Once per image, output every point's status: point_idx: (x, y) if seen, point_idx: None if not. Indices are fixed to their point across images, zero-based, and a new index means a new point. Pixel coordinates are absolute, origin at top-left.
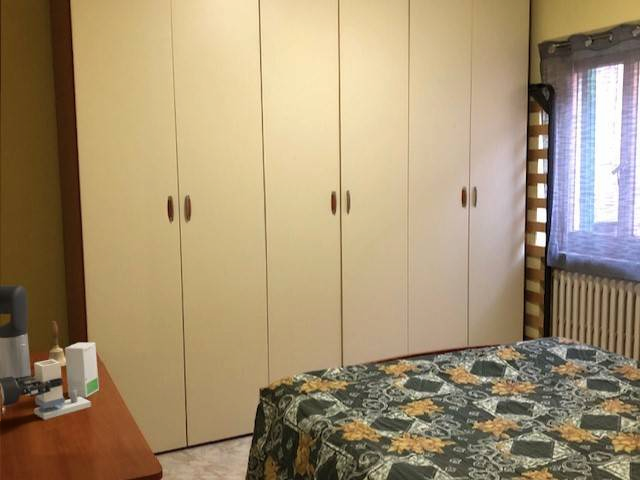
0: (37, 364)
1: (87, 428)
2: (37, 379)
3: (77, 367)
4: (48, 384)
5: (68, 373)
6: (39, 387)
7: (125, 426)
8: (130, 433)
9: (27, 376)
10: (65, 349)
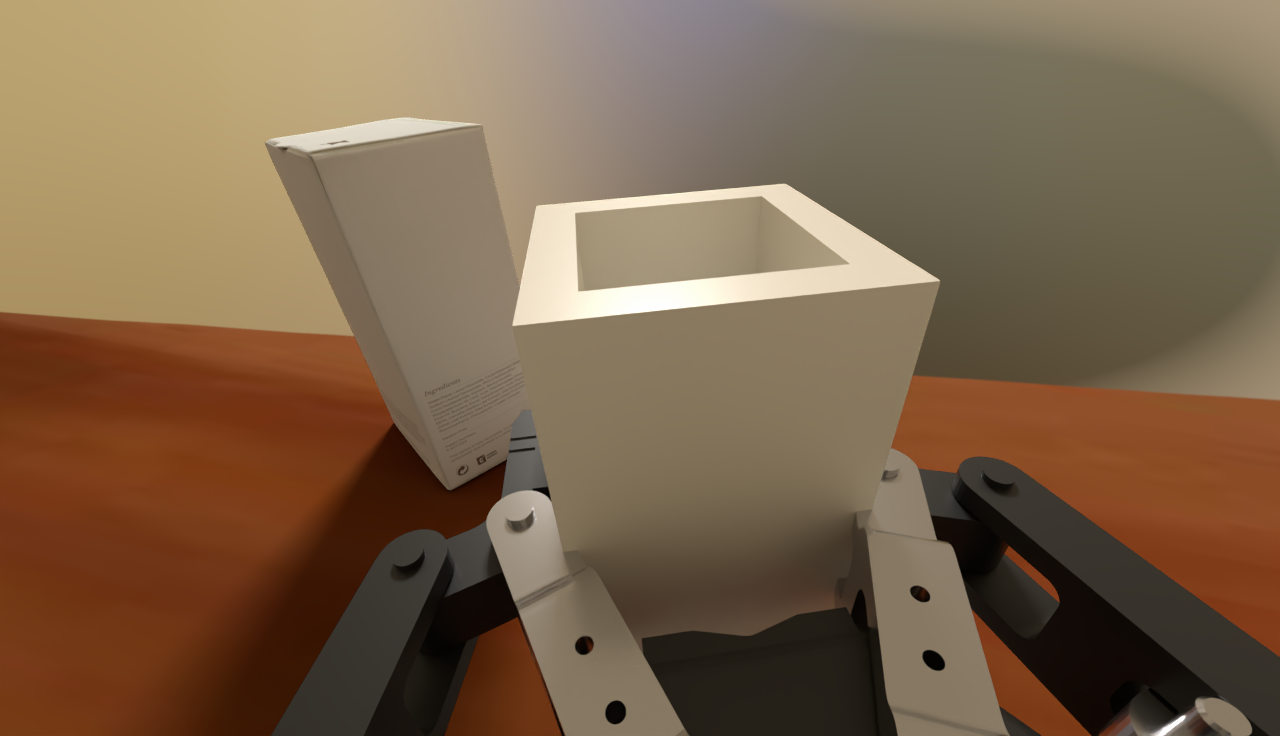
0: (695, 304)
1: (1151, 548)
2: (659, 547)
3: (474, 286)
4: (1024, 486)
5: (413, 356)
6: (1211, 629)
7: (1121, 408)
8: (1249, 414)
9: (368, 643)
10: (325, 161)
